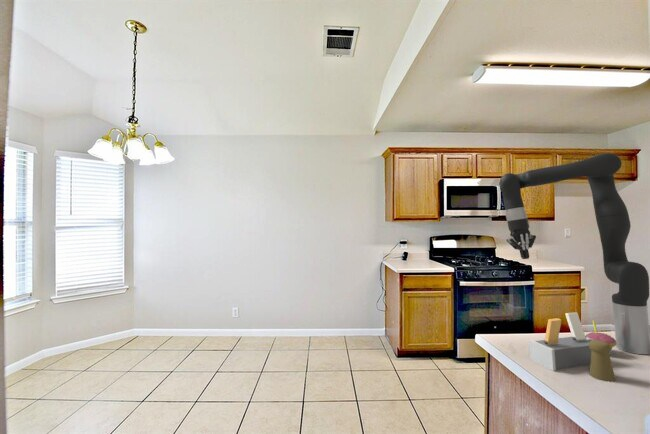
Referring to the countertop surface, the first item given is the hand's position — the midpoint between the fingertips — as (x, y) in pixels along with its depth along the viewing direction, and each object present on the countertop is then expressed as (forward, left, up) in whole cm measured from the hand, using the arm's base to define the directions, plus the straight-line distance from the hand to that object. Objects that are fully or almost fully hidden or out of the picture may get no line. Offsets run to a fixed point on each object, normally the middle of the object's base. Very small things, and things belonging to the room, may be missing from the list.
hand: (525, 258), depth 125 cm
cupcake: (-14, +17, -35) cm, 41 cm away
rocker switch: (-1, +20, -27) cm, 34 cm away
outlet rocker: (+11, +20, -27) cm, 35 cm away
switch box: (+5, +20, -34) cm, 40 cm away
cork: (+4, +31, -35) cm, 46 cm away
